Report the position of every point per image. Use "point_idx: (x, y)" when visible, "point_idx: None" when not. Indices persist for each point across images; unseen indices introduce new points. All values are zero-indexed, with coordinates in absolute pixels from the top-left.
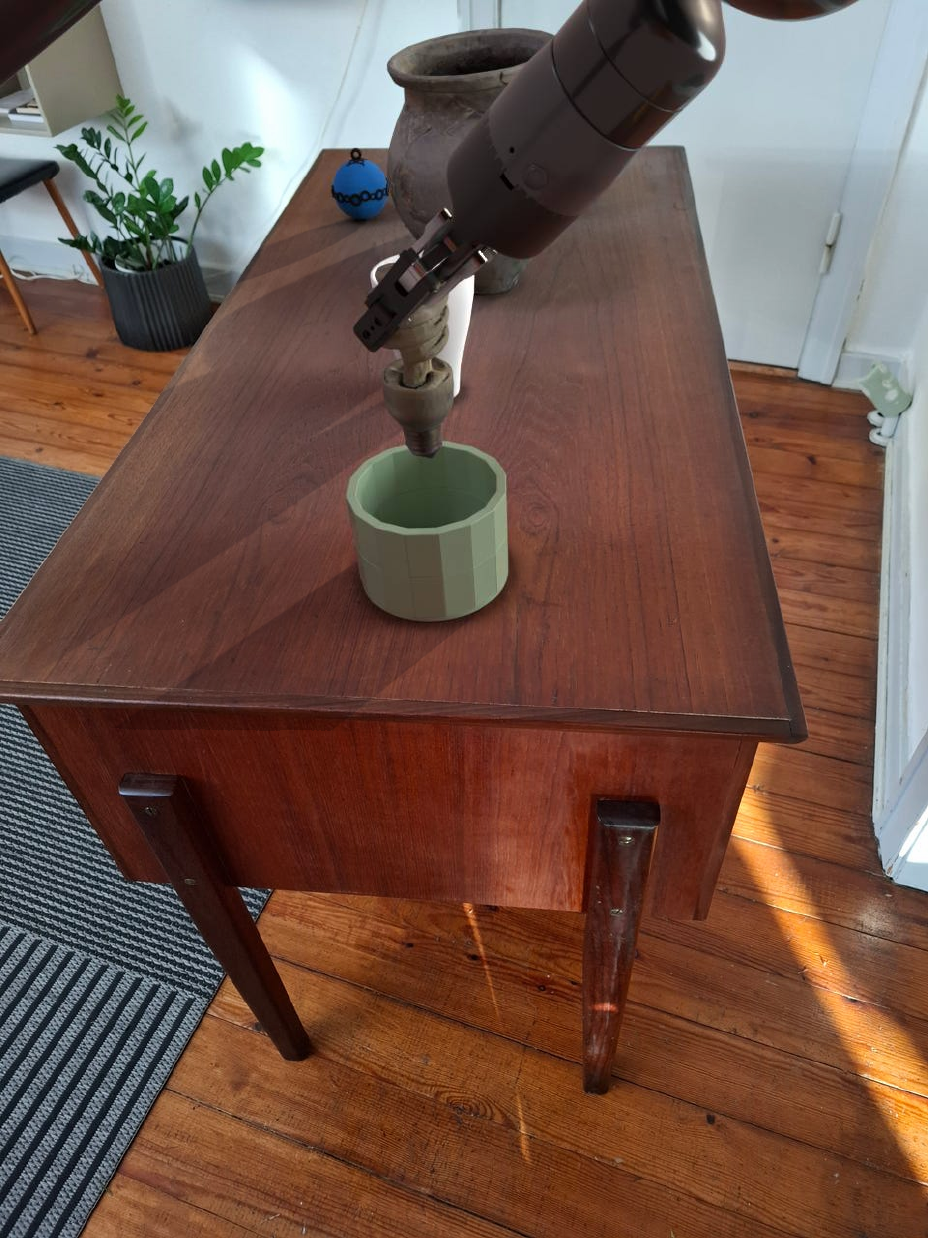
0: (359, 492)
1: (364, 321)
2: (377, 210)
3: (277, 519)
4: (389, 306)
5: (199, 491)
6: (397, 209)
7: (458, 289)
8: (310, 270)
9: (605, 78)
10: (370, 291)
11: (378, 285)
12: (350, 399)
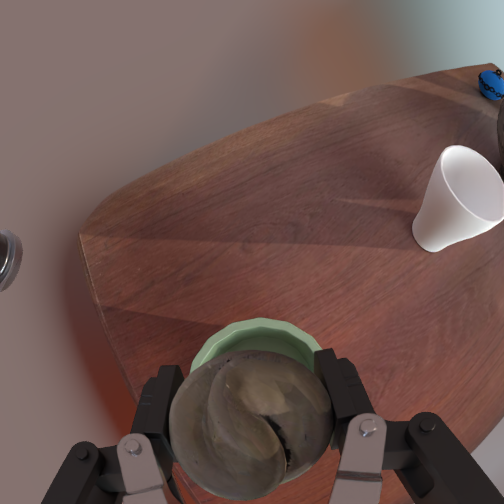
0: (230, 336)
1: (140, 403)
2: (493, 99)
3: (246, 246)
4: (96, 484)
5: (241, 182)
6: (498, 115)
7: (483, 224)
8: (443, 95)
9: None
10: (201, 371)
11: (48, 492)
12: (384, 191)
